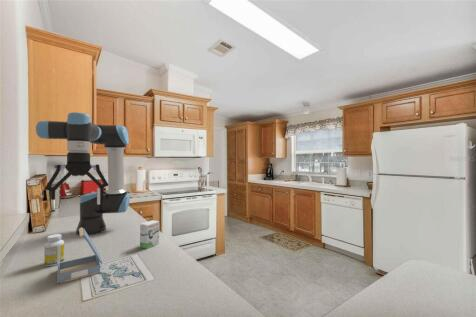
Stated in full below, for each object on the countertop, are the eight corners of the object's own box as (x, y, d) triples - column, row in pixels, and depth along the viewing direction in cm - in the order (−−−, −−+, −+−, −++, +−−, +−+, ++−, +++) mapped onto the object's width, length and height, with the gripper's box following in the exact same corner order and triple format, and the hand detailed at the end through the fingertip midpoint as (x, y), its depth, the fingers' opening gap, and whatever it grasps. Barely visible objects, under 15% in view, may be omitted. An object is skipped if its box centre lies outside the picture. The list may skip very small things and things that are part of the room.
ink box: (146, 249, 110) (146, 225, 110) (139, 247, 112) (139, 223, 112) (159, 243, 118) (159, 220, 118) (152, 241, 120) (152, 219, 120)
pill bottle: (63, 258, 100) (63, 232, 100) (65, 263, 95) (65, 235, 95) (43, 263, 95) (43, 235, 95) (45, 268, 91) (45, 239, 91)
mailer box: (58, 270, 89) (58, 262, 89) (96, 261, 97) (96, 254, 97) (57, 284, 79) (57, 275, 79) (100, 272, 87) (100, 265, 87)
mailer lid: (78, 228, 93) (82, 226, 94) (95, 255, 96) (98, 252, 97) (80, 236, 83) (84, 234, 84) (98, 265, 87) (102, 263, 88)
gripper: (35, 151, 78) (35, 212, 78) (116, 152, 94) (115, 203, 93) (37, 151, 84) (36, 208, 84) (112, 153, 99) (112, 201, 99)
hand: (78, 206), depth 88 cm, fingers open, 13 cm apart
